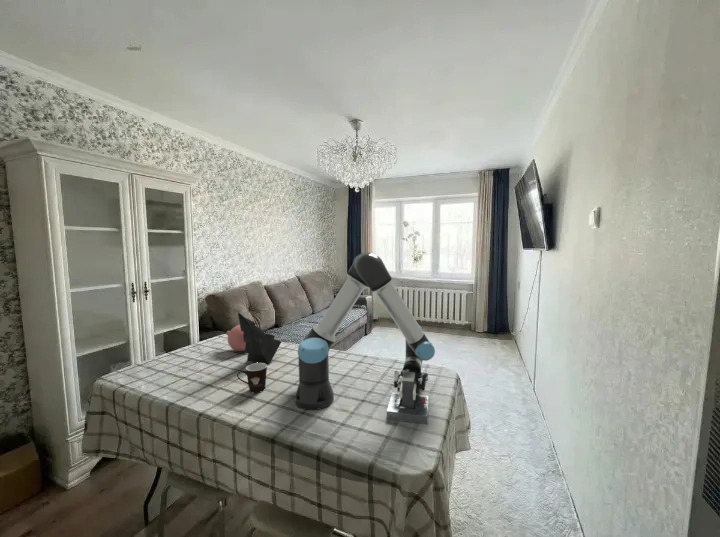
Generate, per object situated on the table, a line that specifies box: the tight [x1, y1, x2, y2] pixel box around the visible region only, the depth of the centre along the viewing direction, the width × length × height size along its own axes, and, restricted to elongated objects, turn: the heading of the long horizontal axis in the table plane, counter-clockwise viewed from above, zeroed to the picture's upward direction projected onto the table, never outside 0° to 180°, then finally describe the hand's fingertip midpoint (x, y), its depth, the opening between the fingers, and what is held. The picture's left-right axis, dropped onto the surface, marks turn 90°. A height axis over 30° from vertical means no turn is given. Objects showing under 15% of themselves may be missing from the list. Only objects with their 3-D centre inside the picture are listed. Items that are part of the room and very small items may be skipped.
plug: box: [401, 372, 415, 408], centre depth 112 cm, size 4×5×11 cm
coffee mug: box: [236, 362, 268, 393], centre depth 131 cm, size 12×9×10 cm
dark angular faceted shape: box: [237, 312, 283, 365], centre depth 157 cm, size 15×15×35 cm
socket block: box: [386, 391, 429, 425], centre depth 112 cm, size 14×14×4 cm
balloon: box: [225, 324, 246, 352], centre depth 180 cm, size 15×20×15 cm
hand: (407, 395), depth 107 cm, fingers closed on plug, 4 cm apart
